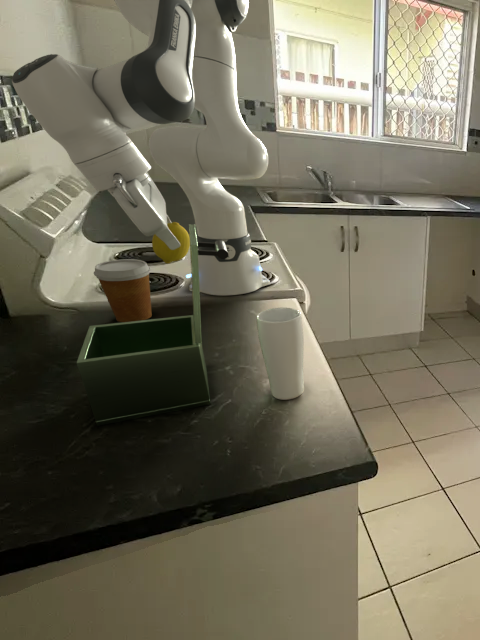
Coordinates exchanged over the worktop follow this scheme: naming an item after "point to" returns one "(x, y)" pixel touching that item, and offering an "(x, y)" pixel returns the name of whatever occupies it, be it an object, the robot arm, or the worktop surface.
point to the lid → (194, 252)
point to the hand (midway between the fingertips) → (175, 241)
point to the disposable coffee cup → (126, 288)
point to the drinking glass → (282, 350)
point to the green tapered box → (143, 369)
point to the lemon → (165, 251)
